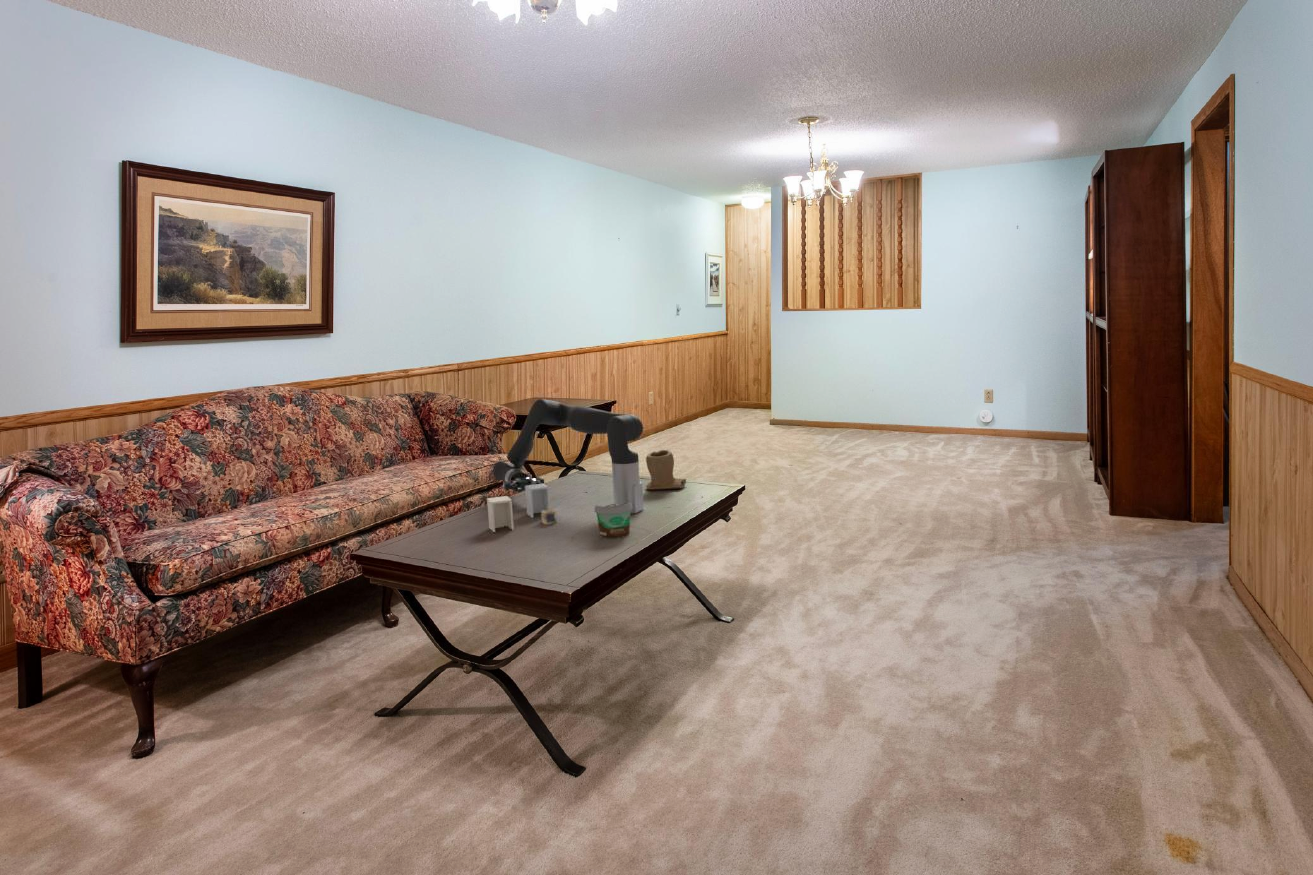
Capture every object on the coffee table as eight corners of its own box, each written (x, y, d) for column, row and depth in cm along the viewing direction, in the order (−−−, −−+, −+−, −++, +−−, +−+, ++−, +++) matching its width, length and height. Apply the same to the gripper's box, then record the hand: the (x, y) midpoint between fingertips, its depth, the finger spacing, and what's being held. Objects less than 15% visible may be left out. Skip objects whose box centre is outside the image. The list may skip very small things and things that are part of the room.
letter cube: (553, 520, 284) (552, 509, 284) (556, 523, 280) (556, 511, 280) (541, 522, 283) (541, 510, 282) (545, 524, 279) (544, 513, 278)
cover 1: (509, 525, 280) (507, 495, 278) (513, 530, 274) (511, 499, 272) (489, 528, 277) (487, 498, 276) (493, 532, 271) (491, 502, 270)
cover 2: (545, 511, 298) (543, 483, 296) (550, 515, 292) (548, 486, 290) (527, 513, 295) (525, 485, 294) (531, 517, 289) (529, 489, 288)
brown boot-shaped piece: (644, 493, 320) (642, 453, 318) (648, 486, 332) (646, 448, 330) (684, 492, 318) (682, 452, 316) (686, 485, 330) (685, 447, 328)
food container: (604, 541, 255) (602, 509, 253) (595, 537, 260) (593, 505, 259) (640, 534, 260) (639, 503, 259) (631, 530, 266) (630, 499, 264)
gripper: (497, 471, 311) (508, 479, 296) (535, 467, 317) (547, 474, 302) (498, 491, 312) (509, 500, 298) (536, 487, 318) (548, 495, 303)
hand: (528, 487), depth 300 cm, fingers open, 8 cm apart
